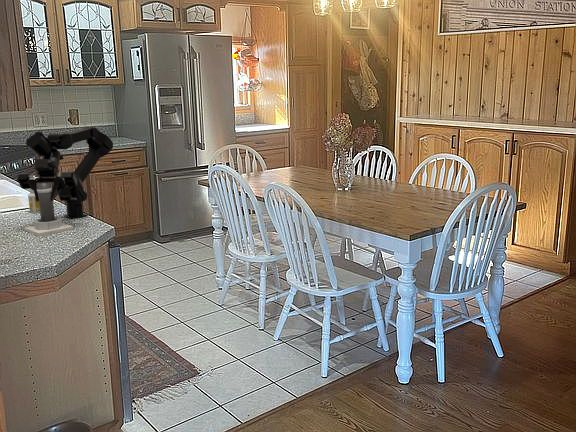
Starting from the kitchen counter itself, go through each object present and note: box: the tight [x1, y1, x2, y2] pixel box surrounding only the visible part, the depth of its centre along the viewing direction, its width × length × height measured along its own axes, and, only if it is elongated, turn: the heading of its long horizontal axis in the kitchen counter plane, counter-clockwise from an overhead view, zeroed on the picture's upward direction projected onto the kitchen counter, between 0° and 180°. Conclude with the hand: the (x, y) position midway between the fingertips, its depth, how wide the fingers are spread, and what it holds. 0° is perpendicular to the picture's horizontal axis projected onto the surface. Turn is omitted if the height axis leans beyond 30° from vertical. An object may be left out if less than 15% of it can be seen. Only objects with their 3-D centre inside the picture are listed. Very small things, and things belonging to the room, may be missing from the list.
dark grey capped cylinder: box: [36, 182, 56, 222], centre depth 201 cm, size 5×5×13 cm
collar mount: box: [23, 216, 74, 237], centre depth 203 cm, size 12×12×4 cm
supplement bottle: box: [27, 189, 40, 214], centre depth 232 cm, size 5×5×10 cm
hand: (44, 200), depth 199 cm, fingers closed on dark grey capped cylinder, 4 cm apart
